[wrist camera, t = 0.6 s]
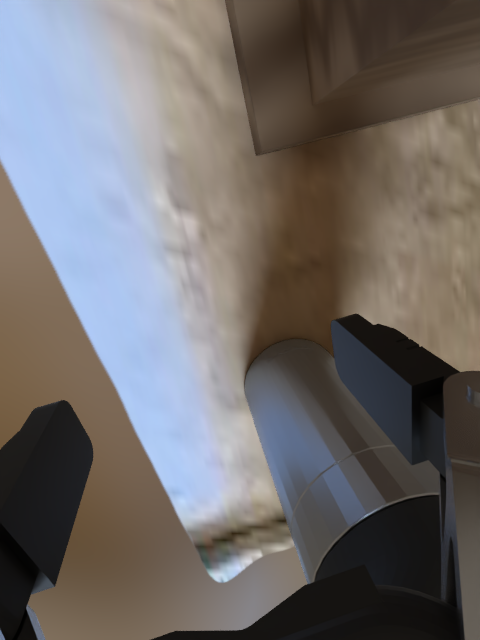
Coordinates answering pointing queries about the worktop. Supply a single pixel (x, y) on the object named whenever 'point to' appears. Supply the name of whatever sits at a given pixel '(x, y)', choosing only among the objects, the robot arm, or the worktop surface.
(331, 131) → the post
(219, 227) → the worktop surface
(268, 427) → the robot arm
